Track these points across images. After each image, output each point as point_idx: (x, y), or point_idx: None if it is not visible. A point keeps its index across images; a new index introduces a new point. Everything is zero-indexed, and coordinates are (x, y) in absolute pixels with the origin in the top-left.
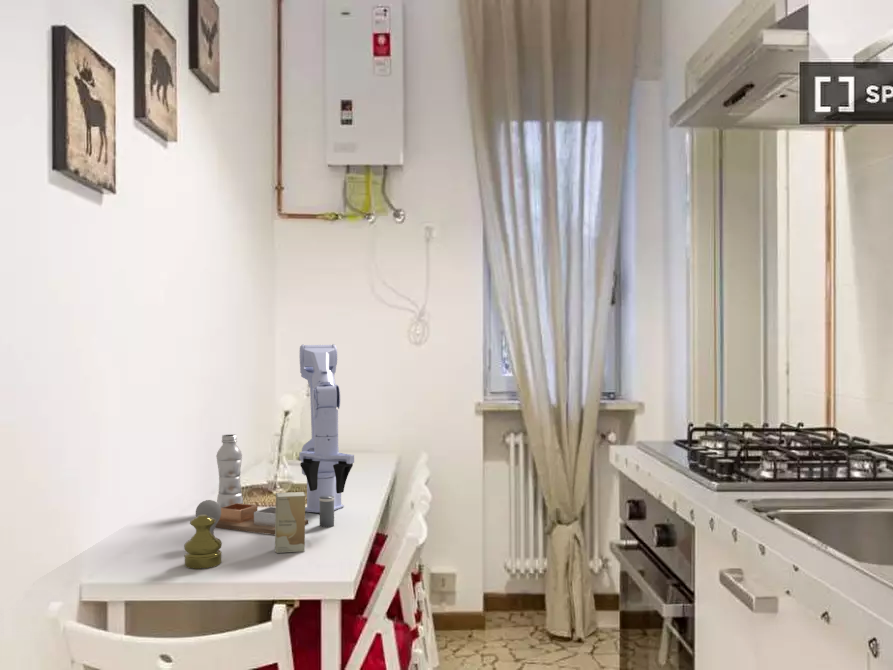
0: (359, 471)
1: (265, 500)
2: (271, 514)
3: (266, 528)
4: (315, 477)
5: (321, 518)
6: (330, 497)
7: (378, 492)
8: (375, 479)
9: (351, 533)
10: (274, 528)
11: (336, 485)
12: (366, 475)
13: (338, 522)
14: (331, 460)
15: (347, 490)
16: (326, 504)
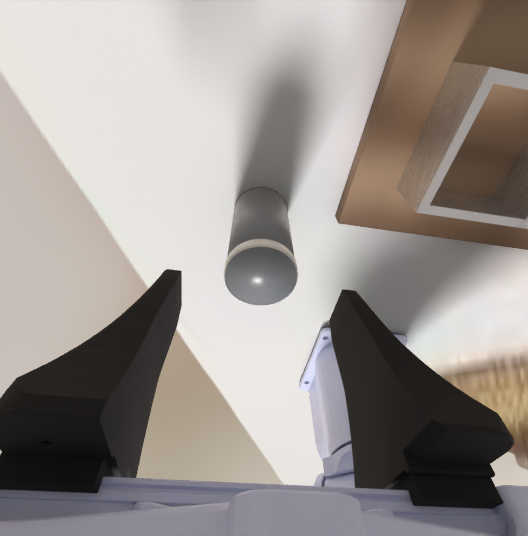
0: None
1: (518, 395)
2: (518, 74)
3: (504, 14)
4: (349, 371)
5: (272, 203)
6: (235, 272)
7: (276, 465)
8: None
9: (103, 122)
10: (458, 29)
11: (163, 293)
12: None
13: None
14: (194, 497)
15: None
16: (247, 234)
